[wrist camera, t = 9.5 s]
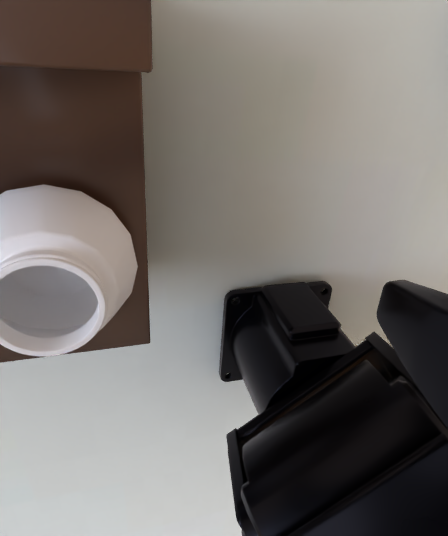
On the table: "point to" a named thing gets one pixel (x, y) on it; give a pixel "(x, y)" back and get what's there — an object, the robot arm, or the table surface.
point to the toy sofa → (80, 121)
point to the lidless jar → (59, 269)
